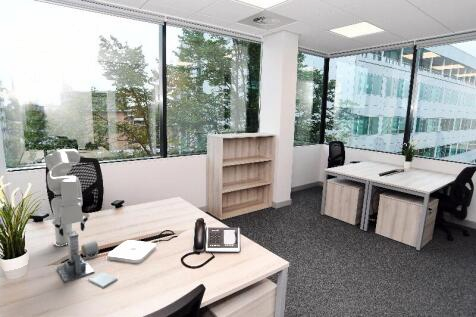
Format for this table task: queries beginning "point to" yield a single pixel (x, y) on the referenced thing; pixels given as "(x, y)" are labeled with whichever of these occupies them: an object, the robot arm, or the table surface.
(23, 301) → the table surface
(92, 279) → the hard drive
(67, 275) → the stand
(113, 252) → the computer
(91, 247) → the ceramic mug
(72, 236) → the column
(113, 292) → the table surface
